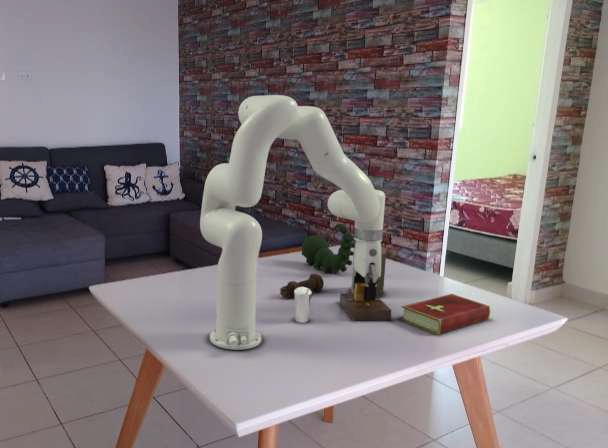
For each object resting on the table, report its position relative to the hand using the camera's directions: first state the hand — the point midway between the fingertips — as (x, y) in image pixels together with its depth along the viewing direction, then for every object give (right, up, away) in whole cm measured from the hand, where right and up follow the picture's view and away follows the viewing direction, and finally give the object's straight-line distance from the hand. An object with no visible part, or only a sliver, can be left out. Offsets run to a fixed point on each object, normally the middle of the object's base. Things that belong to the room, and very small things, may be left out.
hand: (363, 294), depth 158 cm
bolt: (-16, -2, +14) cm, 21 cm away
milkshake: (-19, -6, -8) cm, 21 cm away
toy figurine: (-3, +4, +41) cm, 41 cm away
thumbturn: (0, -1, 0) cm, 2 cm away
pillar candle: (+5, -2, +16) cm, 17 cm away
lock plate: (0, -5, 0) cm, 5 cm away
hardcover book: (+20, -6, -6) cm, 22 cm away
